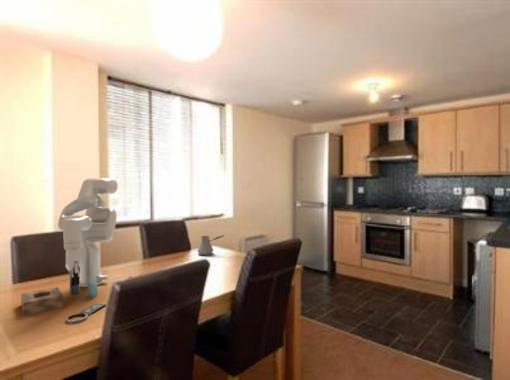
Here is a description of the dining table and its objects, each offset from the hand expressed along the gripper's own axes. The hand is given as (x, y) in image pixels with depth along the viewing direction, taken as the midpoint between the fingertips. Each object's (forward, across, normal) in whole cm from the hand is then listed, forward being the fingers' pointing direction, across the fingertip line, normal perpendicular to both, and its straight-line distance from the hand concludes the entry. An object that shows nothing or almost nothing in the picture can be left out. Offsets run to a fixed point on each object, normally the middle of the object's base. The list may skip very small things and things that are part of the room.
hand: (74, 283), depth 152 cm
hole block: (+7, +1, -13) cm, 15 cm away
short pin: (+7, +2, +7) cm, 10 cm away
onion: (+7, +8, +23) cm, 25 cm away
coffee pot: (+10, -35, +95) cm, 102 cm away
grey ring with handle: (+7, +22, 0) cm, 24 cm away
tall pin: (+5, 0, 0) cm, 5 cm away
